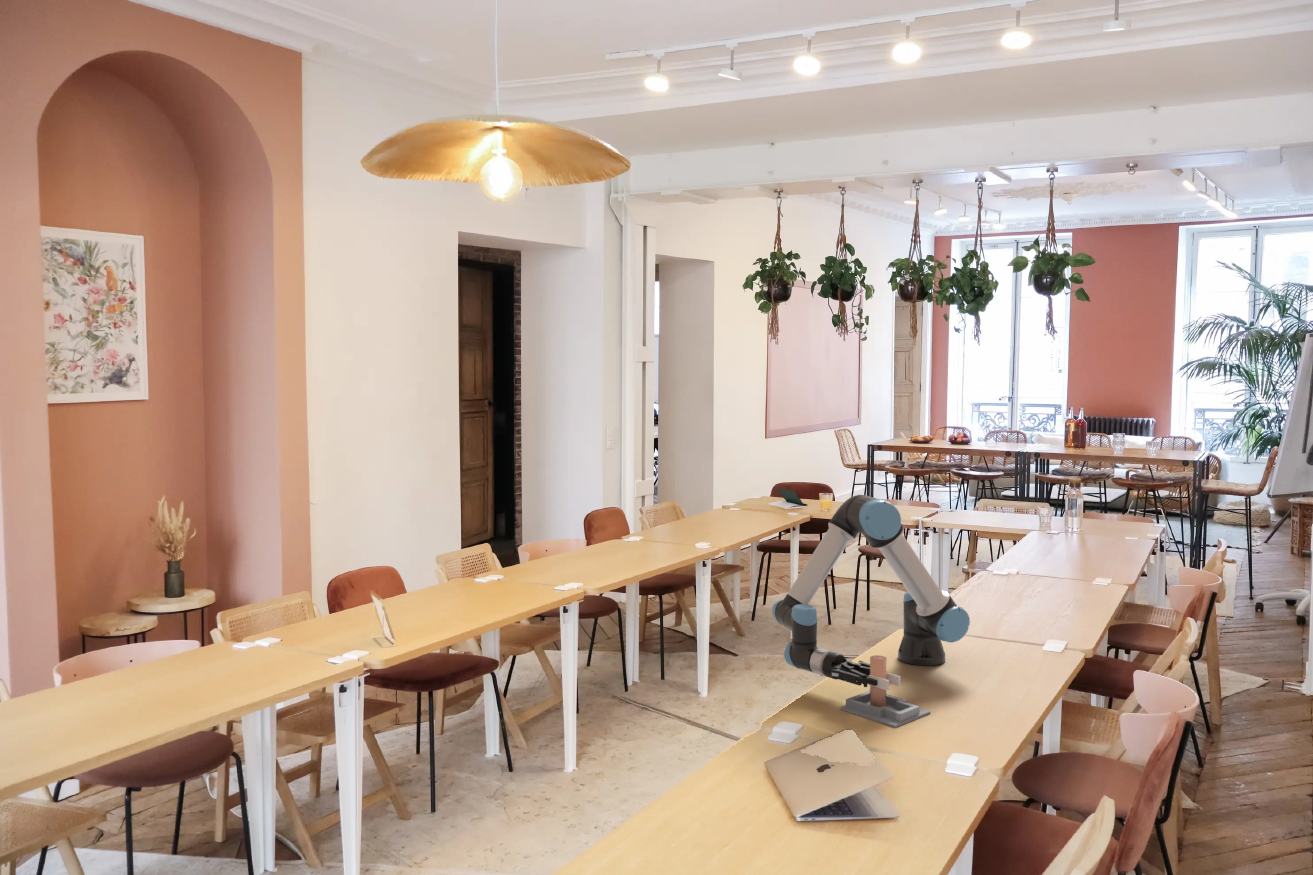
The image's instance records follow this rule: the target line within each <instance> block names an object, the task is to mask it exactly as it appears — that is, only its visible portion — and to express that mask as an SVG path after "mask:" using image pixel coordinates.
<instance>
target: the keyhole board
mask: <svg viewBox="0 0 1313 875" xmlns="http://www.w3.org/2000/svg"><path fill="white" fill-rule="evenodd" d="M920 707H921V706H920V705H919V706H918V705H916V704H913V703H910V702H908V701H907V699H903V698H901V697H898V696H893V695H890V694H887V693H886V707H884V706H882V707H876V706H873V705H870V690H868V691H865V692H863V693H859V694H857V695H853V696H851V697H849V698H845V705H842V706H839V710H842V711H844V712H847V713H850V714H853V715H855V716H859V717H862V718H865V719H868V720H871V721H874V722H877V723H880V724H883V725H885V726H889V727H892V728H898V727H900V726H901V727H902V726H903V725H906V724H908V723H910V722H912V721H915V720H919V719H920V718H923V717H925V716H928V715H930V714H931V711H930V710H928V709H927V710H926V709H923V708H920Z"/></svg>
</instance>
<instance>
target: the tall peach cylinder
mask: <svg viewBox="0 0 1313 875" xmlns="http://www.w3.org/2000/svg"><path fill="white" fill-rule="evenodd" d="M869 664H870V675H873V676H876V677H880V678H883V679H886V672H887V657H886V656H884V655H871V656H869ZM869 691H870V705H873V706H876V707H882V706H884V707H886V694H887V690H885V689H881V688H878V687H875V686H871V685H869Z"/></svg>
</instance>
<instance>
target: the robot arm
mask: <svg viewBox="0 0 1313 875" xmlns="http://www.w3.org/2000/svg"><path fill="white" fill-rule="evenodd" d="M901 522H902V517H901V513H900V512H899V509H898V508H897V507H896V506H895V505H894V504H892V503H891V502H889V501H887V500H886V499H882V498H876V497H872V496H869V495H866V494H857V495H856V494H855V495H853V496H851V497H849V498H847V499H846V500H845V501H844V502H843V503H842V504H841V505H840V506H839V507H838V508H837V510H836V511H835V513H834V514H833V515H832V517H831V519H830V520H829V522H828V524H827V525H828V529H827V531H826V533H824V535H823V537H822V539H821V540H820V542H819V543H818V544H817V547H816V548H815V549H814V551H813V553H812V555H811V556H810V557H809V559H808V561H807V562H806V564H805V566H804V567H803V568H802V570H801V571H800V573H799V574H798V576H797V578H796V579H795V581H794V583H793V584H792V586H790V589H789V590H788V592H787V594H786V595H785V597H784V598H783V599H779V600H777V601H776V602H774V604H773V606H772V609H771V614H772V617H773V619H774V620H775V621H776V622H777V623H778V624H779V625H781V626H783V627H785V628H787V629H788V630H789V631H790V632H791V641H790V642H788V643H787V644H786V646H785V650H784V652H783V657H784V660H785V662H786V663H787V664H788V665H789V666H792V667H794V668H796V669H799V670H804V671H807V672H811V673H814V674H818V675H820V677H827V678H829V679H833V680H839V681H842V682H845V683H849V684H852V685H857V686H862V685H863V688H868V686H870V685H871V686H875V687H878V688H881V689H885V690H886V691H889V690H890V685H893V686H897V687H901V675H899V674H893V673H890V672H887V671H886V679H883V678H880V677H876V676H873V675H870V663H867V662H865V661H863V660H858V663H856V662H853V661H851V660H850V661H849V660H847V659H846V657H845V656H844V655H843V654H842V653H838V652H835V651H831V650H828V649H825V648H824V649H823V648H821V647H818V640H817V639H818V638H817V637H818V613H817V612H818V611H817V608H816V607H815V606H814V605H812V604H810V603H811V602H812V600H813V599H814V597H815V595H816V594H817V592H818V590H819V589H820V588H821V587H822V584H823V583H824V581H825V580H826V578H828V575H829V573H830V572H831V570H832V569H833V567H834V566H835V564H836V562H838V560H839V558H840V557H841V555H842V553H843V552H844V550H845V549H846V548H847V546H848V544H849V543H850V542H852V541H855V539H856V538H857V537H858V535H859V534H862V535H863V537H864V539H866V541H867V543H868V544H869V546H870V547H871V548H872V549H877V550H879V552H880V553H881V555H883V557H884V558H885V560H886V562H887V563H888V565H889V566H890V567H891V569H892V571H893V572H894V573H895V575H896V576H897V577H898V579H899V580H900V583H902V585H903V586H904V588H905V589H906V590H907V591H905V593H904V595H903V601H902V604H903V636H902V638H901V641H900V645H899V648H898V650H897V651H898V652H897V659H898V660H899V661H901V662H904V663H906V664H908V665H909V664H910V665H915V666H925V667H926V666H937V665H942V664H944V663H945V662H946V652H945V650H944V646H943V642H946V643H956V642H959V641H960V640H961V639H963V638H964V637H965V635H966V634H968V631H969V629H970V628H969V627H970V625H971V622H970V621H971V620H970V615H969V613H968V612H967V611H966V609H965V608H963V607H961V606H958V605H957V603H956V602H955V600H954V599H953V597H951V595H950V593H949V592H948V591H947V590H944V589H940V587H939V586H938V584H937V582H936V581H935V580H934V579H933V577H932V575H931V574H930V572H929V571H928V569H927V568H926V567H925V565H924V564H923V562H922V561H921V560H920V558H919V556H918V554H916V552H915V551H914V549H913V547H912V546H911V544H910V543H909V541H908V540H907V538H906V536H904V534H903V533H904V529H905V528H904V527H905V526H904V525H903V524H902V523H901Z"/></svg>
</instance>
